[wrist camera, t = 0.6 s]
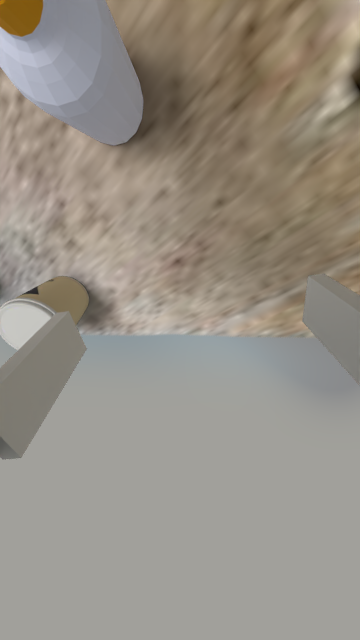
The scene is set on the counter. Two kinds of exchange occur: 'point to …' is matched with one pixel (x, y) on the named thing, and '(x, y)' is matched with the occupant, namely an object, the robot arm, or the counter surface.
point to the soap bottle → (72, 65)
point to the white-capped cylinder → (41, 308)
